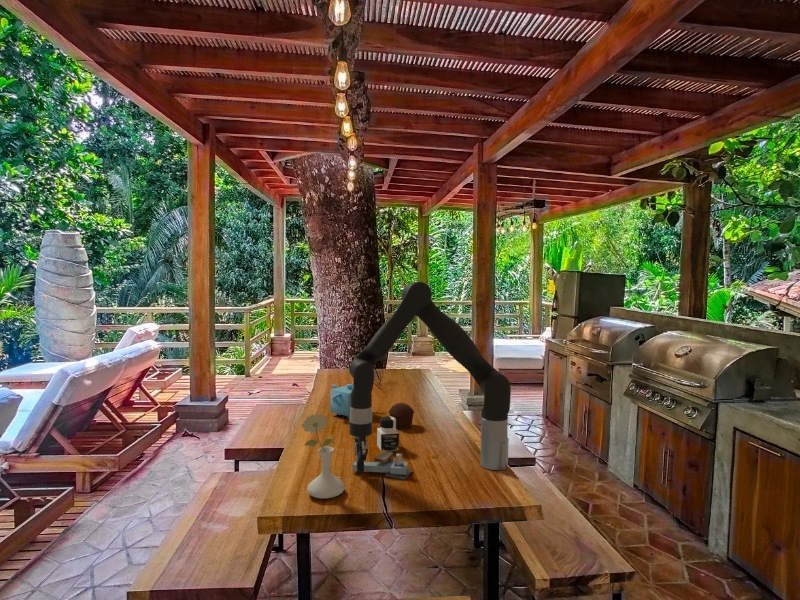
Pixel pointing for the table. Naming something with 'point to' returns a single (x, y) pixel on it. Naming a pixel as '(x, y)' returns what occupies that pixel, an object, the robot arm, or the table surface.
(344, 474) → the table surface
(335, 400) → the teakettle
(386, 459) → the block
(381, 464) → the link
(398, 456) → the pintle block
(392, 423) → the medicine bottle
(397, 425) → the muffin
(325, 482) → the flower in vase
